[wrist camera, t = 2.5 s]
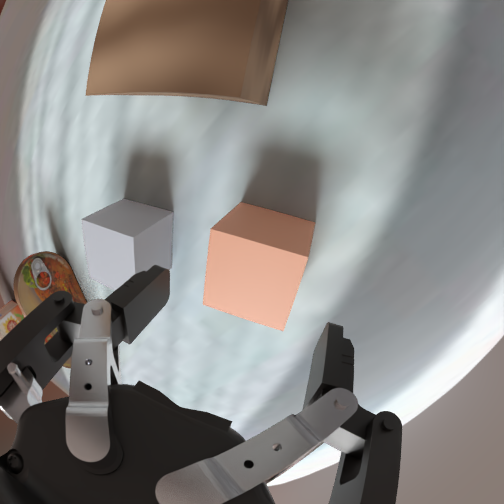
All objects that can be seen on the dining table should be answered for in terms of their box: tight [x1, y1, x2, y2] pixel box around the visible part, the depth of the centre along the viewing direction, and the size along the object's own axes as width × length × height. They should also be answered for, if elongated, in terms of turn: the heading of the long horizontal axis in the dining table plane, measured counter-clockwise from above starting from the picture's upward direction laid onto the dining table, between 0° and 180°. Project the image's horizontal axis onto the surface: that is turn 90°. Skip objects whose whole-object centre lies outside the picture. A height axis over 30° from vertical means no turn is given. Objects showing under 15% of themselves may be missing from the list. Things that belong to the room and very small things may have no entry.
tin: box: [14, 251, 87, 368], centre depth 25 cm, size 15×3×8 cm, turn 11°
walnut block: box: [86, 0, 288, 106], centre depth 11 cm, size 10×10×5 cm
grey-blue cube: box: [81, 199, 174, 290], centre depth 19 cm, size 5×5×5 cm
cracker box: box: [0, 300, 25, 341], centre depth 35 cm, size 14×6×21 cm, turn 7°
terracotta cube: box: [203, 202, 315, 331], centre depth 17 cm, size 5×5×5 cm
